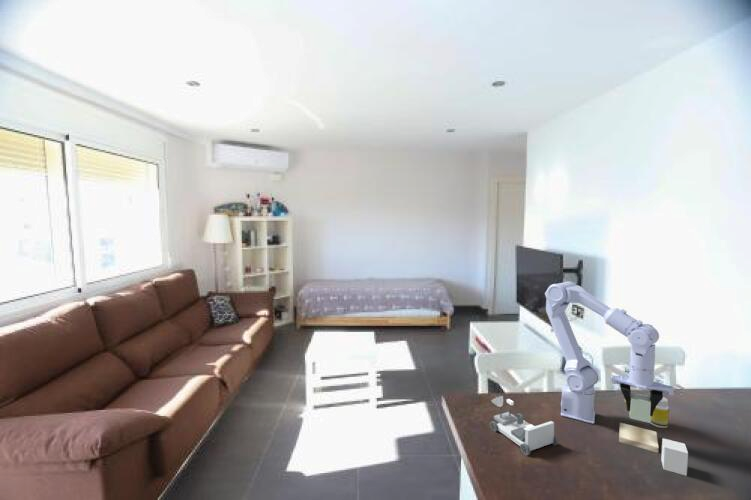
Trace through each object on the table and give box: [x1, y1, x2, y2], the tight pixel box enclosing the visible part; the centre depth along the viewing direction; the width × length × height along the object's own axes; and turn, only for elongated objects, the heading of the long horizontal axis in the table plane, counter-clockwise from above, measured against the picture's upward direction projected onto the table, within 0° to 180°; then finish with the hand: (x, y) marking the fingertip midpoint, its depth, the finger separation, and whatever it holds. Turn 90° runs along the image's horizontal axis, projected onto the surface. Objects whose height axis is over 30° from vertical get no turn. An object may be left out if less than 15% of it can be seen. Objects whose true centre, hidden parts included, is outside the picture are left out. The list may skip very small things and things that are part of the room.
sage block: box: [628, 392, 651, 424], centre depth 106 cm, size 5×5×6 cm
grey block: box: [661, 438, 689, 477], centre depth 94 cm, size 5×5×6 cm
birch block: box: [618, 422, 659, 454], centre depth 107 cm, size 9×9×2 cm
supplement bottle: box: [649, 396, 670, 429], centre depth 114 cm, size 5×5×8 cm
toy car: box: [489, 393, 559, 456], centre depth 109 cm, size 18×10×12 cm
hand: (639, 412), depth 106 cm, fingers closed on sage block, 5 cm apart
